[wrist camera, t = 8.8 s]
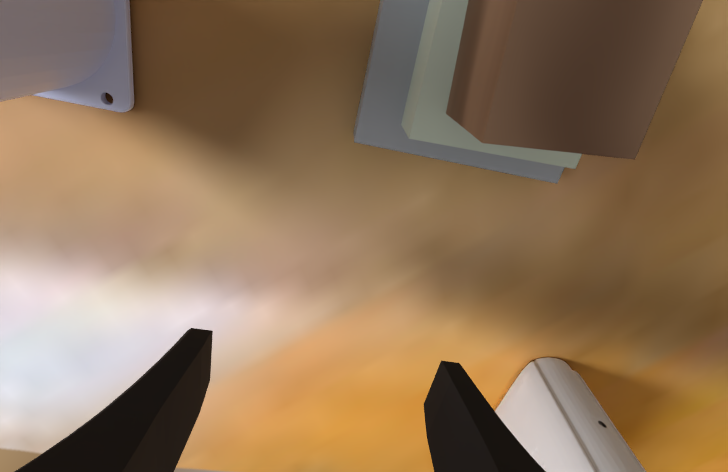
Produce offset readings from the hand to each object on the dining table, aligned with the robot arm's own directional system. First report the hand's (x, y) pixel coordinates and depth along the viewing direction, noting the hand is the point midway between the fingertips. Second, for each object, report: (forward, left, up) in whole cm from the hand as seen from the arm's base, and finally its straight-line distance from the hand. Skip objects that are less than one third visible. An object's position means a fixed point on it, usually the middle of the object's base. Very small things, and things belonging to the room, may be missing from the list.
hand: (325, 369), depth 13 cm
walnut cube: (+5, +10, -6) cm, 13 cm away
